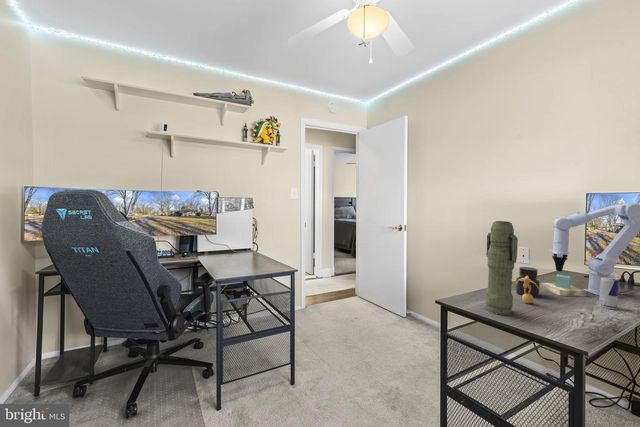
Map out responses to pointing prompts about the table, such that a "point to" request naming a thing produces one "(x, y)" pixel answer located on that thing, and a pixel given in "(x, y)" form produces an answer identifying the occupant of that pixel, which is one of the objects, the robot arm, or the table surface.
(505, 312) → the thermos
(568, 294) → the birch block
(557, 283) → the teal cube
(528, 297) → the figurine
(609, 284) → the energy drink
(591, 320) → the table surface
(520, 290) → the ink bottle
